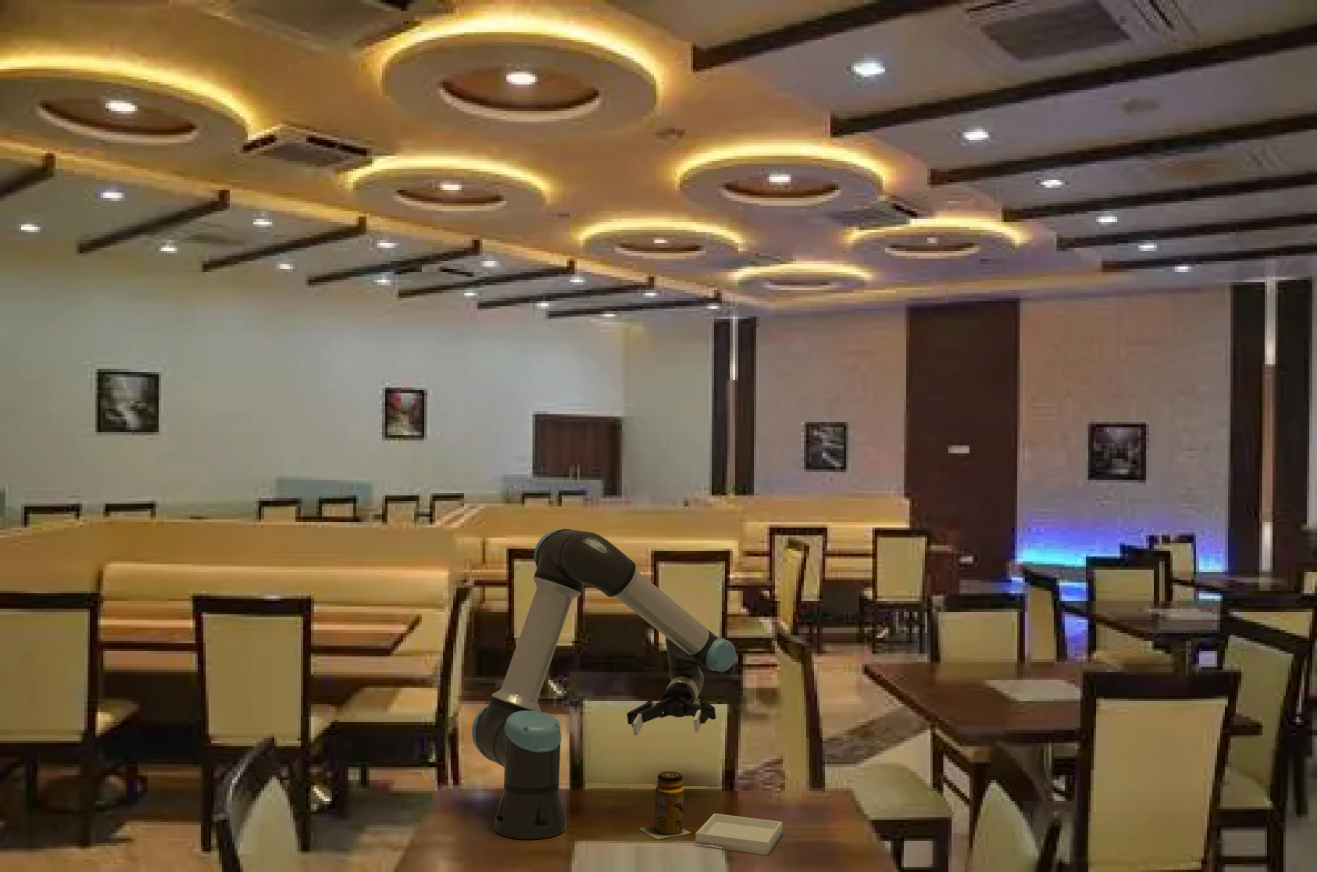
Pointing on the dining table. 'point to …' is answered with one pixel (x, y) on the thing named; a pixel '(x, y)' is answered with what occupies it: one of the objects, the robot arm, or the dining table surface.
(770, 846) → the tray
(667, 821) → the condiment
